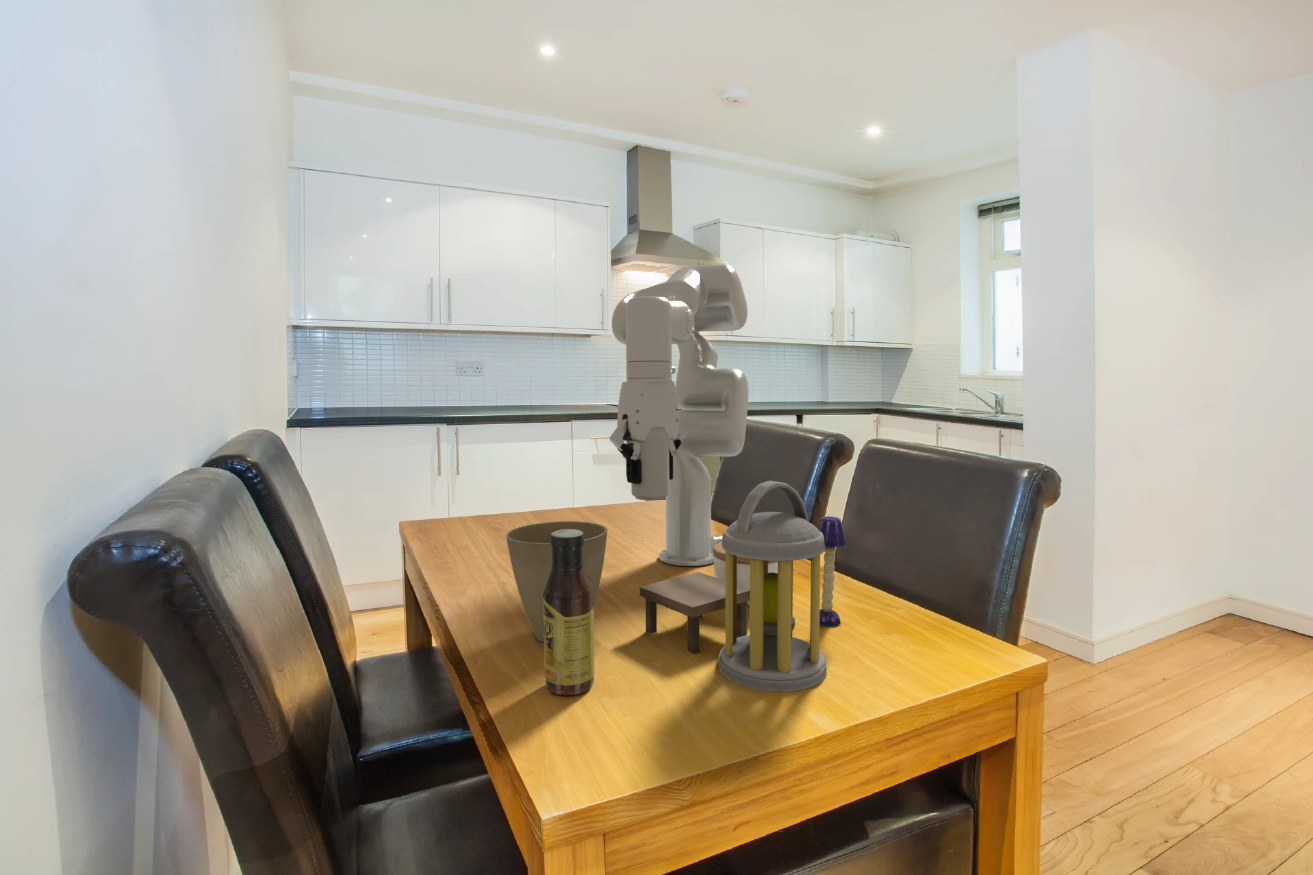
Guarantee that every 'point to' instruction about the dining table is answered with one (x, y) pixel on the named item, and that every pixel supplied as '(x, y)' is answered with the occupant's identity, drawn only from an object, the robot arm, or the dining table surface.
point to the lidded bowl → (742, 567)
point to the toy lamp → (830, 567)
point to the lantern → (772, 597)
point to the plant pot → (550, 562)
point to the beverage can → (653, 467)
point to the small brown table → (693, 602)
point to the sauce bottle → (568, 618)
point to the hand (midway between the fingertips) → (650, 479)
